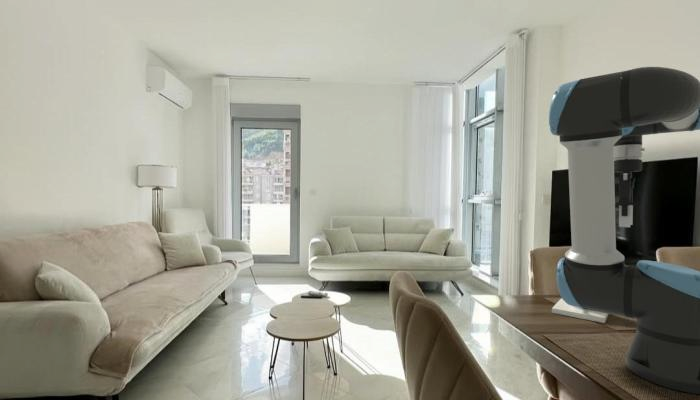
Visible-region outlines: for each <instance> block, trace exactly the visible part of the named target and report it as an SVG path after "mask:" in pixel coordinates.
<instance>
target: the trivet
mask: <svg viewBox="0 0 700 400" xmlns="http://www.w3.org/2000/svg"><path fill="white" fill-rule="evenodd" d="M551 314H556V315H562V316H566V317H571V318H577V319H581V320H585V321H586V320H588V321H593V322H598V323H601V324H606V321H607V319H608V317H609V314H607V313H602V312H597V311H590V310H583V309H578V308H575V307H573V306H571V305H568V304H567V303H566V302H565V301H564V300H563V299H562V297H561V298H560V299H559V300H558V301H557V302H556V303H555V304H554V306H552V308H551Z"/></svg>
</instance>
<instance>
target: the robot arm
mask: <svg viewBox="0 0 700 400" xmlns="http://www.w3.org/2000/svg"><path fill="white" fill-rule="evenodd" d="M548 113H549V114H548V125H549V131H550V133H551V134H552V135H553V136H556V137H558V136H559V143H560V145H562V146H563V147H564V148H565V149H566V150H567V163H568V164H567V165H568V187H569V188H568V189H569V210H570V212H569V213H570V232H571V233H570V234H571V235H570V236H571V237H570V239H571V247H570V248H569V249H567V251H565V253H564V257H562V258H560V259H559V261H558V262H557V266H556V283H557V289H558V292H559V295H560V297H561V298H562V299H563V300H564V301H565V302H566V303H567V304H568V305H571V306H574V307H579V308H582V309H584V310H592V311H597V312H602V313H607V314H608V315H611V316H612V315H614V316H618V317H622V318H628V319H634V320H636V332H635V334H634V337H633V338H632V341H631V342H630V345H629V347H628V349H627V351H626V354H625V355H626V356H625V365H626V366H625V367H627V368H628V370H630V371H631V372H632V373H633V374H635V375H636V376H638V377H640V378H642V379H644V380H645V381H648V382H651V383H653V384H656V385H659V386H662V387H665V388H668V389H671V390H674V391H675V390H676V391H679V392H683V393H689V394H694V395H700V271H699V270H695V269H693V268H690V267H686V266H681V265H678V264H674V263H668V262H664V261H658V260H655V261H653V260H646V259H643V260H642V259H641V260H638V261H637V263H636V265H629V264H628V265H627V264H626V263H625V259H626V258H625V255H624V254H622V253H621V251H619V250H618V249H617V243H616V242H617V238H616V234H617V233H616V206H618V227H619V228H631V226H633V225H634V224H633V222H634V220H633V218H634V217H633V215H634V214H633V213H634V212H633V211H634V206H636V201H634V199H633V198H634V197H633V196H634V195H633V194H634V192H633V191H634V189H635V181H636V178H635V177H634V176H633V175H632V173H637V172H638V173H639V172H642V170H643V160H642V159H641V158H642V157H643V152H644V151H646V149H645V147H643V136H647V135H657V134H668V133H669V134H670V133H680V132H681V133H683V132H694V131H699V130H700V80H699V79H698V78H696V77H695V76H693V75H692V74H691V73H689V72H685V71H682V70H679V69H676V68H670V67H665V66H664V67H662V66H645V67H644V66H643V67H641V66H640V67H635V68H632V69H629V70H622V71H618V72H612V73H606V74H601V75H597V76H596V75H595V76H592V77H591V76H590V77H586V78H585V77H584V78H580V79H577V80H573V81H569V82H565V83H563V84H561V85H560V86H559V87H557V88H556V90H555V91H554V93H553V96H552V98H551V101H550V105H549V112H548ZM615 173H620V174H619V177H618V189H619V196H618V197H619V198H618V199H619V200H618V201H617V202H616V197H615V196H616V195H615V193H616V191H615V186H616V185H615Z"/></svg>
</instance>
